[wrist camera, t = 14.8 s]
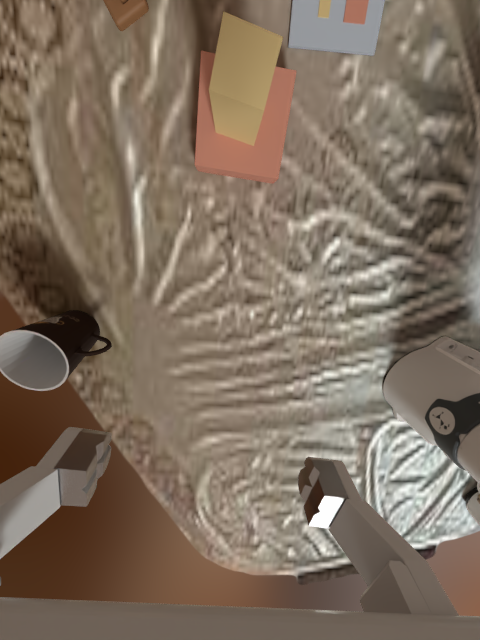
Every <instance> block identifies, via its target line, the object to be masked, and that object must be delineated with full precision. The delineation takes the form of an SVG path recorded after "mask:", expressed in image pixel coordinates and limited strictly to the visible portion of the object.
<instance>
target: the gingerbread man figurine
mask: <svg viewBox="0 0 480 640" xmlns="http://www.w3.org/2000/svg"><path fill="white" fill-rule="evenodd" d="M103 1H104V3H105V5H106V6H107V8H108V10H109V12H110V14H111V16H112V18H113V20H114V21H115V23H116V25H117V27H118V29H119V30H120V31H123V30H125V29H126V28H127V27H129V26H130V25H131V24H133V23H134V22H135V21H136V20H138V19H139V18H140V17H142V16H143V15H144V14H145V13H147V12H148V9H149V8H148V4H147V2H146V0H103Z"/></svg>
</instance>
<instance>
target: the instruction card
mask: <svg viewBox="0 0 480 640" xmlns="http://www.w3.org/2000/svg"><path fill="white" fill-rule="evenodd" d="M384 2H385V0H292V9H291V20H290V32H289V43H288V47H289V48H299V49H309V50H320V51H330V52H340V53H351V54H361V55H371V56H373V55H374V54H375V49H376V44H377V38H378V33H379V28H380V23H381V17H382V12H383V7H384Z"/></svg>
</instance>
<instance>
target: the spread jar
mask: <svg viewBox="0 0 480 640" xmlns="http://www.w3.org/2000/svg"><path fill="white" fill-rule="evenodd" d="M466 507H467V510H468V511H469V513H470V514H471V516H472V517H473V518H474V520H475V521H476V522H477V523H478V524H479V526H480V484H479V483H478V482H477V487H476V488H474V489H473V490H471V491H470V492H469V493H468V494H467V497H466Z"/></svg>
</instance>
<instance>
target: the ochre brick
mask: <svg viewBox="0 0 480 640" xmlns="http://www.w3.org/2000/svg"><path fill="white" fill-rule="evenodd" d="M282 40H283V37H282V36H279V35H277V34H275V33H273V32H270V31H268V30H266V29H263V28H261V27H259V26H256V25H254V24H252V23H249V22H247V21H245V20H242V19H240V18H238V17H235V16H233V15H231V14H228V13H226V12H224V11H223V17H222V22H221V27H220V33H219V38H218V43H217V49H216V54H215V59H214V65H213V70H212V76H211V81H210V86H209V94H210V100H211V107H212V113H213V119H214V125H215V131H216V133H219V134H221V135H224V136H227V137H230V138H232V139H235V140H238V141H241V142H244V143H246V144H249V145H252V146H254V144H255V140H256V137H257V133H258V130H259V127H260V123H261V120H262V116H263V113H264V109H265V105H266V101H267V98H268V94H269V90H270V86H271V82H272V78H273V74H274V71H275V67H276V63H277V59H278V55H279V51H280V47H281V43H282Z"/></svg>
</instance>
